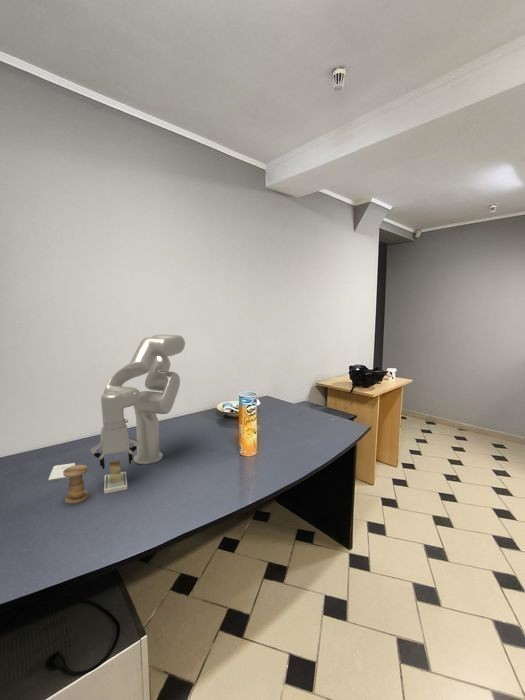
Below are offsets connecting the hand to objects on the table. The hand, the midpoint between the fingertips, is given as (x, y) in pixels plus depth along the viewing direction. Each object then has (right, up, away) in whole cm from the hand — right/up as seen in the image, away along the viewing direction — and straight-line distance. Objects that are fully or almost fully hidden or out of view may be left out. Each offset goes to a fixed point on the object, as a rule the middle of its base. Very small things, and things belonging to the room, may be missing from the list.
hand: (116, 464), depth 132 cm
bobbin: (-10, -9, -10) cm, 17 cm away
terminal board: (0, -7, 0) cm, 7 cm away
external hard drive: (-26, -7, +7) cm, 28 cm away
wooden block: (0, -6, 0) cm, 6 cm away
